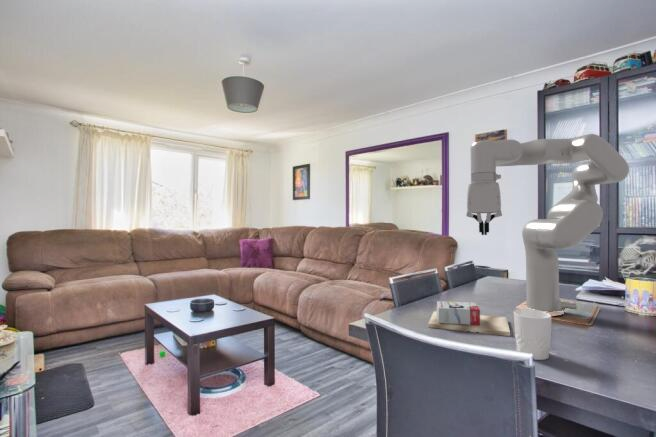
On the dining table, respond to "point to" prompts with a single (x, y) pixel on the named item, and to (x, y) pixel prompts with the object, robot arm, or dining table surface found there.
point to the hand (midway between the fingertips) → (484, 234)
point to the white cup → (533, 332)
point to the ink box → (458, 313)
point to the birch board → (486, 325)
